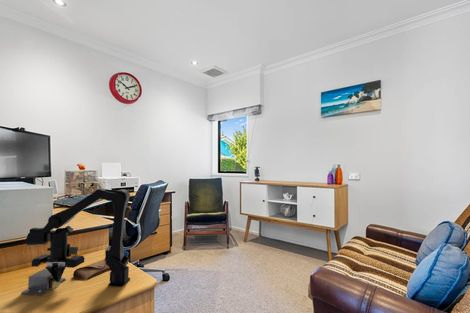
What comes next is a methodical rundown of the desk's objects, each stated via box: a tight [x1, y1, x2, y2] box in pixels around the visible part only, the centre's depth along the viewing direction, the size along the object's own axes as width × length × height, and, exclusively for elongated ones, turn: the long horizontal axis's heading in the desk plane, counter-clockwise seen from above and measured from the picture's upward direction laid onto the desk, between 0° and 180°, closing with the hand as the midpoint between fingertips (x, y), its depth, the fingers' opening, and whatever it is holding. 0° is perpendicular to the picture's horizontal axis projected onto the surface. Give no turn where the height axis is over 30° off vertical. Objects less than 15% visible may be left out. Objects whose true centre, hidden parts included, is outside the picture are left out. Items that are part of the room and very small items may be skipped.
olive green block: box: [48, 277, 61, 291], centre depth 97 cm, size 6×4×4 cm, turn 84°
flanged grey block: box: [20, 268, 66, 296], centre depth 97 cm, size 8×12×6 cm, turn 175°
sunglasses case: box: [72, 259, 111, 282], centre depth 112 cm, size 18×7×7 cm, turn 155°
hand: (58, 282), depth 97 cm, fingers closed
